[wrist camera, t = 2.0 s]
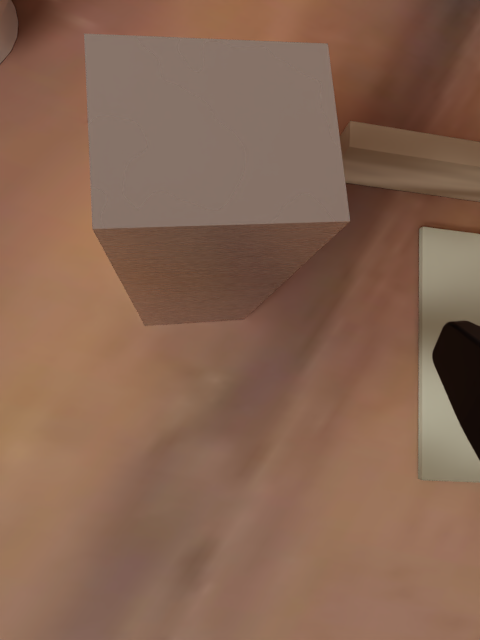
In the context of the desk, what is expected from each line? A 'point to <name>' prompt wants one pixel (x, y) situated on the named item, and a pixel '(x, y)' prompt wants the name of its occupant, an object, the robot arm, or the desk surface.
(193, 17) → the desk surface
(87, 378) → the desk surface
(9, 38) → the candle
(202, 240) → the block
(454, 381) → the robot arm
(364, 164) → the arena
